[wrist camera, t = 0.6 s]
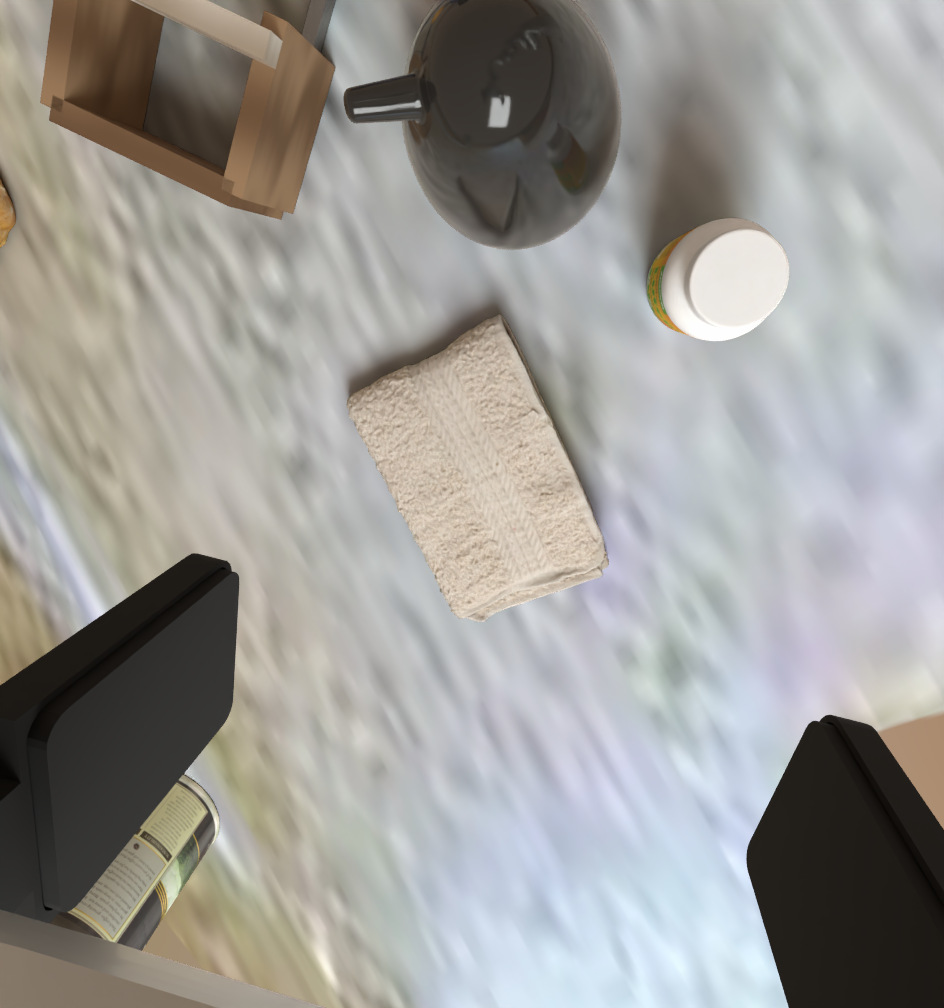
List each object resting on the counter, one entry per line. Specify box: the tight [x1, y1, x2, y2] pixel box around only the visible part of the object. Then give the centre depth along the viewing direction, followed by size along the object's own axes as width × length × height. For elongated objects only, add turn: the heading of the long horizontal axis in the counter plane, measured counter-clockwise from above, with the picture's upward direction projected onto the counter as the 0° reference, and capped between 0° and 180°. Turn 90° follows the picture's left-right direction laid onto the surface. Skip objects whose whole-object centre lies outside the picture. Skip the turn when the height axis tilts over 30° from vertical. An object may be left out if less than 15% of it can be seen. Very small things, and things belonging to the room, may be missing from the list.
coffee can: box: [50, 775, 220, 951], centre depth 48 cm, size 10×10×14 cm
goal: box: [40, 0, 335, 219], centre depth 31 cm, size 9×11×7 cm
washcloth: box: [347, 314, 609, 622], centre depth 39 cm, size 12×18×3 cm, turn 27°
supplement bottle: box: [647, 218, 789, 341], centre depth 30 cm, size 5×5×10 cm
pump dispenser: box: [344, 0, 621, 250], centre depth 26 cm, size 10×10×15 cm
